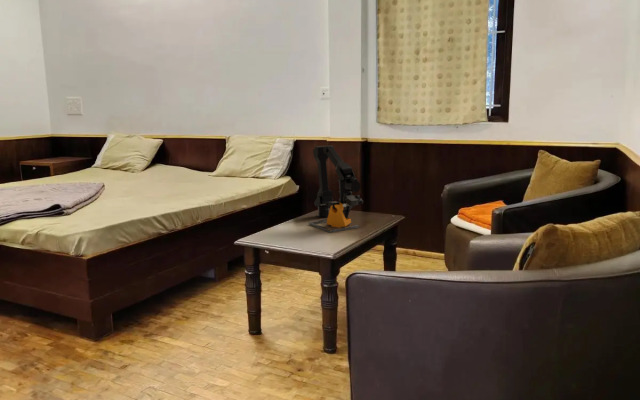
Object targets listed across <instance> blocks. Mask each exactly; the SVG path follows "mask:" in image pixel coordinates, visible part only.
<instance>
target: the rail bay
mask: <svg viewBox="0 0 640 400" xmlns="http://www.w3.org/2000/svg"><path fill="white" fill-rule="evenodd" d="M323 223H327V219H323V220H322V219H321V220H316V221H309V222H308V225H309V226H311V227H314V228H317V229H319V230H322V231H324V232H327V233H330V234H331V233H337V232H342V231H347V230H352V229H353V230H354V229H359V228H360V225H359V224H356V225H350V226H345V227H344V226H342V227H341V228H340V227H337V228H334V229H333V228H332V229H330V228H327V227H325V226H322V225H319V224H323Z"/></svg>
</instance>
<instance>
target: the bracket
mask: <svg viewBox="0 0 640 400" xmlns="http://www.w3.org/2000/svg"><path fill="white" fill-rule="evenodd" d="M338 202H339V203H340V201H338ZM332 206H333V205H332ZM332 206H331V207H330V208H329V215H328V217H326V220H327V222H326V225H330V226H331V227H332V228H333V227H334V228H343V227H348V225H350V224H351V223H352V219H351V218H349V217H348V218H345V216H344V214H343V209H344V207H343V205H342V204H341V203H340V205H335V208H336V209H333V208H332Z"/></svg>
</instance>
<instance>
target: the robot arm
mask: <svg viewBox="0 0 640 400" xmlns="http://www.w3.org/2000/svg"><path fill="white" fill-rule="evenodd" d="M312 153H313V158H314V160H315V162H316V163H317V173H318V174H317V175H318V184H319V189H318V191H317V193H316V199H315V200H314V201H313V203H314V206H315V207H317V212H318V213H317V214H316V215H315V217H318V218H320V219H322V218H328V215H329V211H330V207H331V206H332V205H333V206H332V208H333V209H336V208H335V205H340V203H341V204H342V205H343V207H344V209H343V214H344V216H345V218H349V214H350V211H351V210H352V209H353V208H354V207H355V206H357V205H363V203H364V200H363V199H362V198H361V196H360V195H359V194H356V195H353V193H359V191H360V190H361V187H362V186H361V183H360V182H359V181H358V178H356V175H355V173H354V170H353V168H352V166H351V165H350V164H349V163H347V162H346V161H344V160H343V159H342V158H341V156H340V155H339V153H338V152H337V151H336V150H335V147H334V146H333V145H319V146H318V145H317V146H314V148H313V149H312ZM328 159H329V160H330V161H331V163H332V164H333V166H334V167H335V173H336V175H337V176H338V178H337V179H336V180H337V181H338V185H339V191H338V192H337V193H338V194H339V198H338V201H336V200H334V195H333V190H331V189H330V187H329V180H328V169H327V167H328V166H327V161H328ZM339 202H340V203H339Z"/></svg>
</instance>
